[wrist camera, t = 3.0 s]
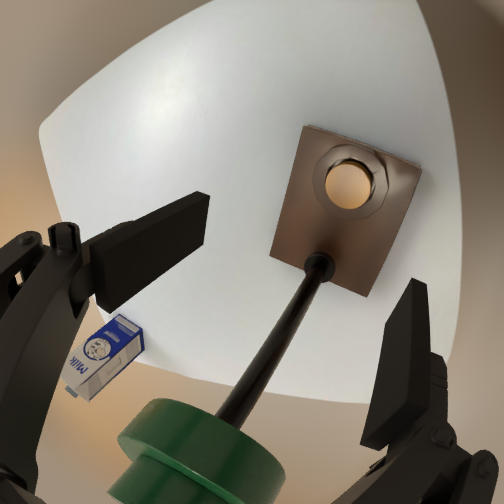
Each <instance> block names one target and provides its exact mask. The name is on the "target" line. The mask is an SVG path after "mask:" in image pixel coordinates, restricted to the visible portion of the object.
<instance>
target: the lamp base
mask: <svg viewBox="0 0 504 504" xmlns="http://www.w3.org/2000/svg"><path fill="white" fill-rule="evenodd" d="M345 161H353V162H357V163H359V164H361V165H362V166H364V167H365V168H366V169H367V171H368V172H369V174H370V176H371V180H372V188H371V192H370V195H369V197H368V199H367V201H366V202H365V203H364V204H363V205H361V206H360V207H358V208H354V209H345V208H341V207H339V206H337V205H336V204H334V203H333V202H332V201H331V199H330V198H329V196H328V194H327V192H326V187H325V183H326V178H327V176H328V174H329V172H330V171H331V170H332V169H333V168H334V167H335V166H337V165H338V164H340V163H342V162H345ZM421 173H422V168H421V166H419V165H417V164H414V163H412V162H410V161H407V160H405V159H403V158H400V157H398V156H395V155H393V154H390V153H388V152H385V151H383V150H380V149H378V148H375V147H372V146H370V145H367V144H364V143H362V142H359V141H356V140H353V139H350V138H348V137H345V136H342V135H339V134H336V133H333V132H330V131H327V130H323V129H320V128H317V127H314V126H311V125H307V126H303V129H302V133H301V137H300V141H299V145H298V149H297V152H296V156H295V160H294V164H293V168H292V172H291V176H290V180H289V183H288V187H287V191H286V195H285V199H284V203H283V206H282V210H281V214H280V218H279V221H278V225H277V229H276V233H275V236H274V240H273V244H272V247H271V251H270V255H269V256H271V257H273V258H276V259H278V260H280V261H283V262H285V263H287V264H290V265H292V266H294V267H297V268H299V269H301V270H304V263H305V261H306V259H307V258H308V256H309V255H310V254H312V253H314V252H324V253H327V254H328V255H330V256H331V257H332V258H333V260H334V261H335V264H336V271H335V274H334V276H333V277H332V279H331V280H329V282H332V283H334V284H336V285H339V286H341V287H343V288H346V289H348V290H350V291H353V292H355V293H357V294H360V295H362V296H364V297H367V296H368V294H369V292H370V290H371V288H372V286H373V284H374V282H375V280H376V278H377V276H378V274H379V272H380V270H381V268H382V266H383V264H384V262H385V260H386V257H387V255H388V253H389V251H390V249H391V247H392V244H393V242H394V240H395V238H396V235H397V233H398V231H399V228H400V226H401V224H402V221H403V219H404V217H405V214H406V212H407V209H408V207H409V204H410V202H411V199H412V197H413V194H414V191H415V189H416V186H417V184H418V181H419V178H420V175H421Z"/></svg>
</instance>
